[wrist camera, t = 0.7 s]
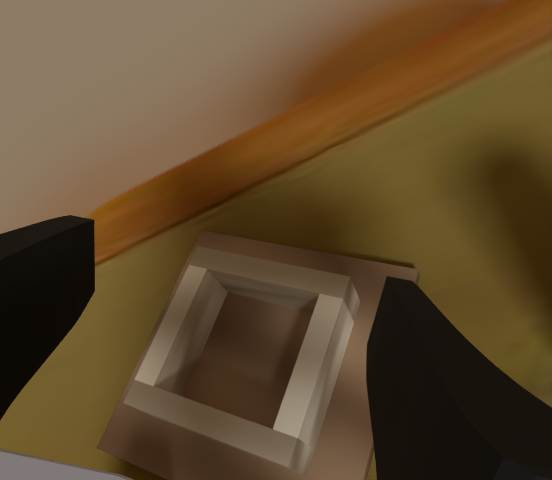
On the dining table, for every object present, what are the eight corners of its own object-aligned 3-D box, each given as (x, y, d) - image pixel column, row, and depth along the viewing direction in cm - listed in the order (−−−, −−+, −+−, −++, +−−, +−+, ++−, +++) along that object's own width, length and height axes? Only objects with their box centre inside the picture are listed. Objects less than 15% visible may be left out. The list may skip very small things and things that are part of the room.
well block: (345, 559, 22) (326, 559, 19) (105, 450, 28) (61, 437, 25) (419, 276, 28) (414, 241, 24) (206, 236, 34) (180, 204, 30)
